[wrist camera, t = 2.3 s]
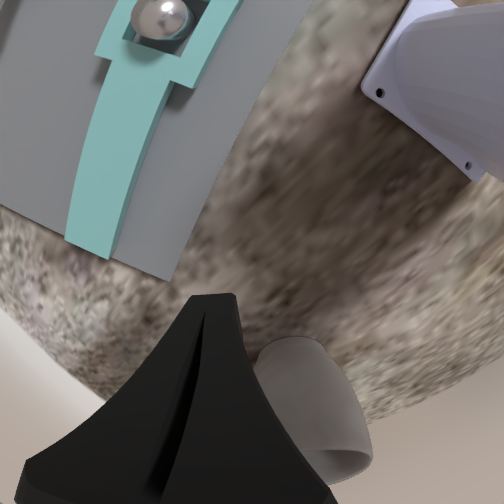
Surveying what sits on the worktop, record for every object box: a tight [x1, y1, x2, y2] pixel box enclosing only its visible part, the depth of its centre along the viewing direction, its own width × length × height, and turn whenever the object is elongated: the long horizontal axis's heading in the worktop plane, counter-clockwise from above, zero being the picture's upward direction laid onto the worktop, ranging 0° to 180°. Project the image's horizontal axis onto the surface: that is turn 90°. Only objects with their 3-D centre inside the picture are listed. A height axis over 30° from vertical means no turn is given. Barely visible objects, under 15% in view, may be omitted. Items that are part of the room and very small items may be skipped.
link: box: [64, 0, 244, 260], centre depth 12 cm, size 14×5×1 cm, turn 153°
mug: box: [253, 336, 373, 486], centre depth 20 cm, size 12×9×10 cm
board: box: [0, 0, 314, 282], centre depth 12 cm, size 17×20×1 cm
